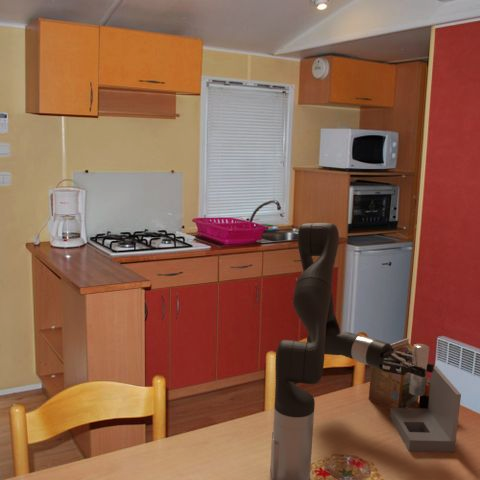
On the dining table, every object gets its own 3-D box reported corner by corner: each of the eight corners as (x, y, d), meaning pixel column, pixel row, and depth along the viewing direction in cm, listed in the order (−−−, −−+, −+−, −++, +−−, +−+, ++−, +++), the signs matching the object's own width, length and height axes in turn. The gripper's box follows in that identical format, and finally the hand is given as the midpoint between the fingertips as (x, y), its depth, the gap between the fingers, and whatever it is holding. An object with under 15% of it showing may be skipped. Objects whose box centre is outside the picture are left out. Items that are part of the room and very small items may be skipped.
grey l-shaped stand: (408, 450, 154) (414, 393, 151) (389, 417, 172) (394, 365, 169) (454, 451, 154) (461, 394, 151) (431, 418, 172) (436, 366, 169)
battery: (446, 413, 175) (449, 381, 174) (424, 414, 174) (428, 382, 172) (438, 406, 180) (442, 375, 178) (417, 407, 178) (421, 376, 177)
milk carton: (397, 411, 175) (403, 350, 172) (368, 398, 183) (373, 340, 179) (417, 402, 182) (423, 343, 178) (388, 389, 190) (393, 333, 186)
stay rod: (411, 395, 157) (416, 349, 154) (406, 389, 161) (411, 343, 158) (426, 396, 157) (431, 349, 154) (421, 389, 161) (426, 343, 158)
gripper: (359, 345, 161) (418, 364, 150) (385, 333, 171) (442, 350, 160) (357, 371, 162) (415, 392, 151) (383, 358, 173) (439, 376, 161)
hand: (429, 371), depth 155 cm, fingers closed on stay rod, 4 cm apart
